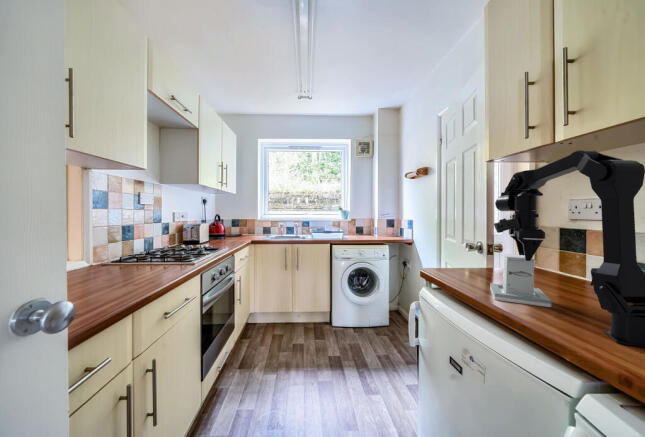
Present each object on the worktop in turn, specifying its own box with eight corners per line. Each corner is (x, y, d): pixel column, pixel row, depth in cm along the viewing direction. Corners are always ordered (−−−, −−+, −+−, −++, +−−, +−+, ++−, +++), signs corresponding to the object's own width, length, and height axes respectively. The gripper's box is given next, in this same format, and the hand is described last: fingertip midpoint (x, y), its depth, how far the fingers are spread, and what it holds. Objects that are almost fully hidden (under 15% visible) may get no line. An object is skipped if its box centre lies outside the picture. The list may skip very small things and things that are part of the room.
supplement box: (505, 295, 85) (506, 256, 84) (502, 289, 91) (503, 253, 91) (534, 299, 81) (535, 258, 81) (529, 292, 87) (530, 255, 87)
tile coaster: (551, 307, 77) (551, 300, 77) (494, 299, 83) (494, 293, 83) (538, 294, 89) (538, 288, 89) (490, 288, 96) (490, 283, 95)
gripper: (492, 211, 97) (491, 253, 97) (499, 210, 80) (498, 261, 80) (530, 211, 92) (529, 255, 92) (546, 210, 75) (545, 264, 75)
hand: (524, 258), depth 85 cm, fingers open, 9 cm apart
